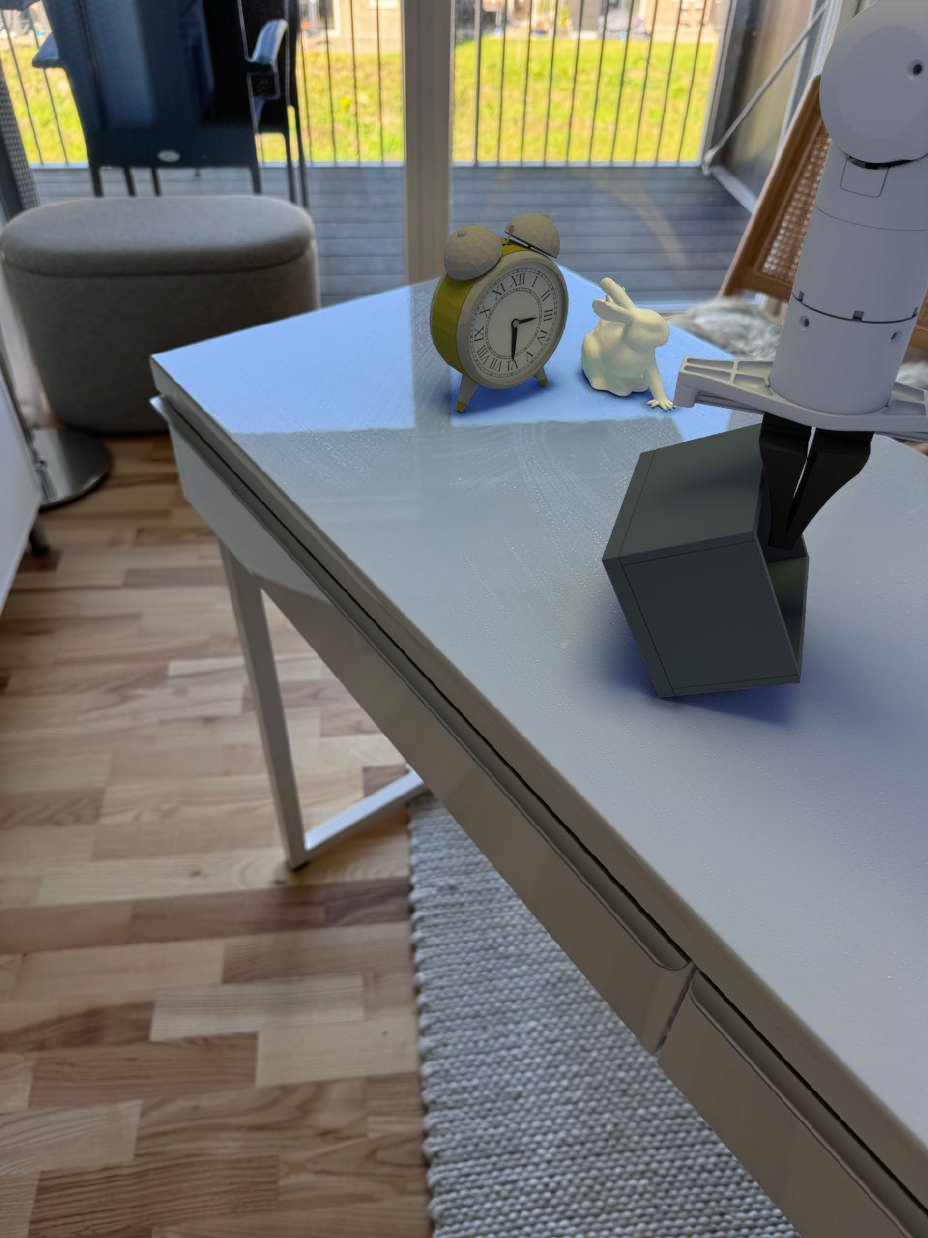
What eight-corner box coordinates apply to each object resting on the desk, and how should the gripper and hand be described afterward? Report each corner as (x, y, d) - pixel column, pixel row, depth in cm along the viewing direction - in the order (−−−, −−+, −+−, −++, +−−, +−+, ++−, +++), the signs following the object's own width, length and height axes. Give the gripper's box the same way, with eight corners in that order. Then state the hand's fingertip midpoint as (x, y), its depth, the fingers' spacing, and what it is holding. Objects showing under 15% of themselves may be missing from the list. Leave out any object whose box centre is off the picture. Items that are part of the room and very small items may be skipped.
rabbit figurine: (677, 410, 81) (698, 302, 75) (599, 421, 79) (614, 311, 73) (619, 354, 90) (633, 253, 83) (547, 362, 88) (557, 260, 81)
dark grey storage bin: (809, 558, 58) (770, 419, 54) (800, 683, 50) (752, 530, 45) (687, 579, 62) (640, 452, 57) (658, 698, 53) (600, 559, 49)
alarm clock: (460, 422, 78) (464, 241, 69) (415, 391, 82) (414, 217, 73) (563, 388, 84) (581, 216, 74) (517, 361, 88) (528, 195, 78)
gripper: (1014, 291, 44) (916, 527, 53) (708, 250, 47) (664, 478, 56) (1033, 349, 39) (921, 600, 47) (688, 299, 42) (643, 541, 51)
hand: (781, 539), depth 51 cm, fingers closed
